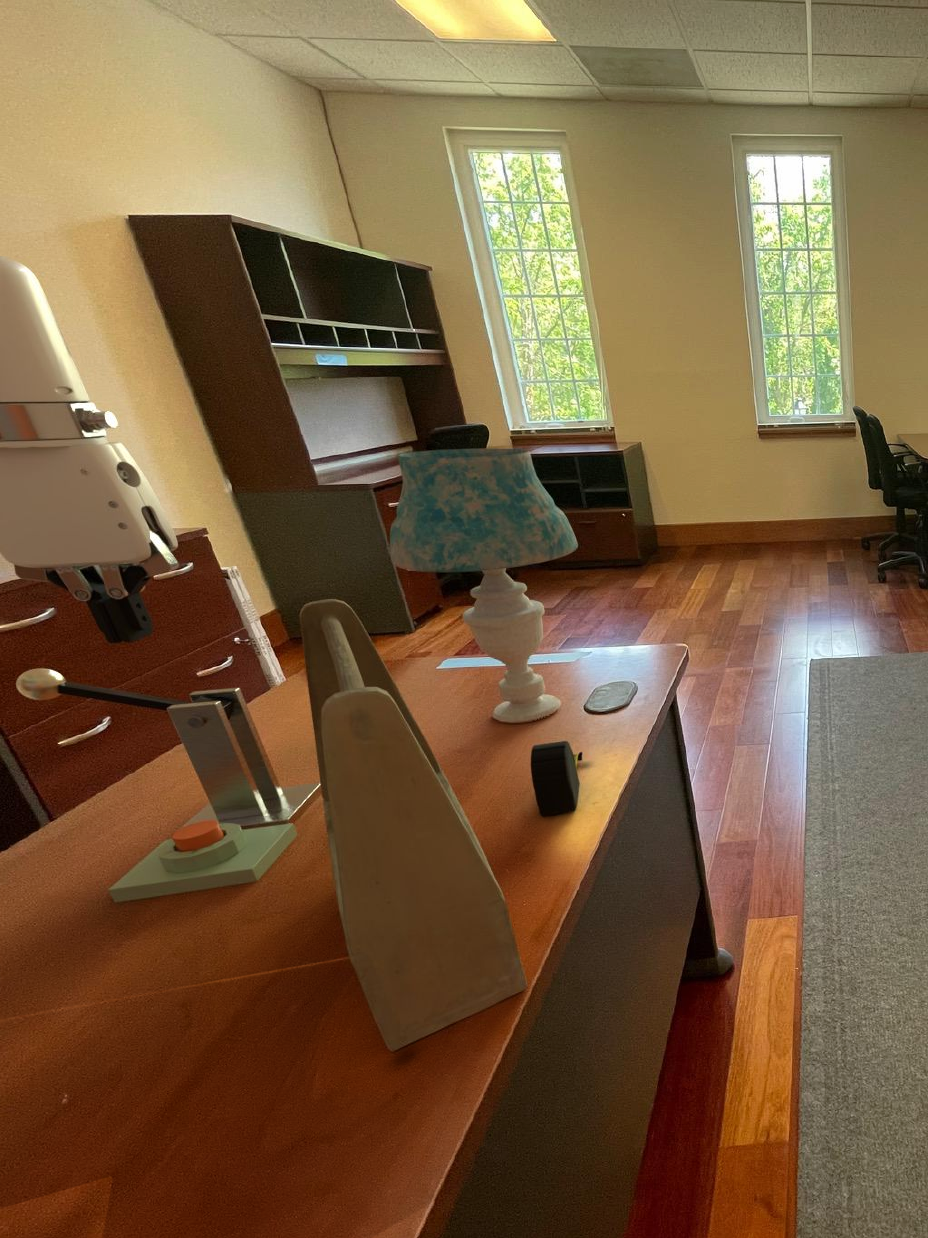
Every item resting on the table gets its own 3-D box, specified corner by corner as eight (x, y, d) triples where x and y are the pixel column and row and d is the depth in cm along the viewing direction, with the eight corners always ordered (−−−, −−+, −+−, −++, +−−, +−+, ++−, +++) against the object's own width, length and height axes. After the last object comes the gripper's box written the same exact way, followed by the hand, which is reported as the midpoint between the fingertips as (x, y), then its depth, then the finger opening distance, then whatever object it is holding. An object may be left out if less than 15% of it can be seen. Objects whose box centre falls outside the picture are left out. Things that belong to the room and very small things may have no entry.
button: (170, 855, 75) (163, 841, 74) (191, 836, 78) (184, 823, 77) (212, 849, 76) (206, 836, 75) (231, 831, 79) (225, 817, 78)
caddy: (533, 989, 63) (444, 672, 51) (386, 1057, 56) (244, 713, 44) (464, 841, 83) (388, 590, 71) (350, 879, 76) (245, 609, 64)
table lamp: (456, 695, 121) (386, 448, 105) (607, 676, 130) (563, 444, 114) (426, 757, 101) (335, 463, 85) (607, 729, 110) (555, 457, 94)
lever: (6, 701, 74) (6, 671, 74) (32, 689, 77) (32, 660, 77) (216, 733, 81) (218, 707, 80) (233, 721, 84) (235, 695, 83)
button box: (114, 903, 72) (99, 875, 71) (171, 852, 80) (157, 826, 79) (257, 881, 76) (245, 854, 74) (298, 835, 84) (287, 809, 82)
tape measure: (577, 813, 88) (564, 756, 85) (537, 820, 87) (523, 762, 84) (583, 760, 101) (573, 709, 97) (549, 765, 99) (537, 713, 96)
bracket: (176, 843, 82) (115, 719, 76) (221, 803, 90) (169, 688, 83) (291, 827, 85) (241, 707, 79) (324, 790, 93) (282, 678, 86)
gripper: (176, 423, 64) (252, 620, 71) (-46, 425, 60) (59, 633, 67) (117, 428, 57) (207, 644, 64) (-137, 429, 53) (-9, 660, 60)
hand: (132, 637), depth 66 cm, fingers closed
